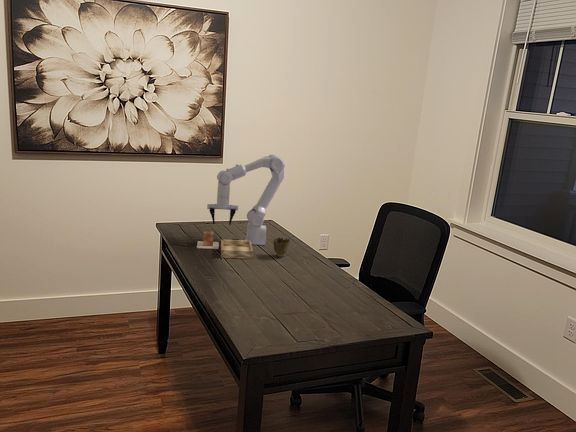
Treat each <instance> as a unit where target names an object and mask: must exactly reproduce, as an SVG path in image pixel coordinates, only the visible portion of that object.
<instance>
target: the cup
mask: <svg viewBox="0 0 576 432" xmlns="http://www.w3.org/2000/svg"><path fill="white" fill-rule="evenodd" d="M289 246H290V238H289V239H288V238H287V237H286V238H285V239H284V238H283V237H275V238H273V250H274V252H275V253H276V256H277V257H278V258H284V257H285V254H286V253H287V252H288V250H289Z"/></svg>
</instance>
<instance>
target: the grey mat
mask: <svg viewBox="0 0 576 432" xmlns="http://www.w3.org/2000/svg"><path fill="white" fill-rule="evenodd" d="M219 244H220V242H219V241H213V246H203V240H202V241H201V240H200V241H199V240H197V244H196V248H197V249H203V250H204V249H207V250H208V249H210V250H220V249H219V248H220V247H219V246H220V245H219Z"/></svg>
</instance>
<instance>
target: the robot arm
mask: <svg viewBox="0 0 576 432" xmlns="http://www.w3.org/2000/svg"><path fill="white" fill-rule="evenodd" d="M285 167H286V166H285V163H284V161H283V159H282V158H281V157H278V156H277V155H275V154H269V155H268V156H267V155H266V156H265V155H264V156H262V157H261V158H258V159H256V160H254V161H251V162H250V163H247V164H245V165H242V164H239V163H237V164H235V166H232V167H230V168H226V169H225V170H220V171H219V172H218V173H217V175H216V179H217V192H216V193H217V195H216V196H217V197H216V203H212V204H211V203H207V205H206V207H207V210H209V213H210V215H211V220H212V225H215V215H216V214H215V211H216V210H227V211H229V223H228V225H229V226H231V225H232V220H233V219H234V216H235V215H236V212H237V211H239V205H233V204H230V194H231V193H230V192H231V191H230V190H231V187H230V186H231V185H230V184H231V183H232V182H233V181H236V180H237V179H240V178H243V177H245V176H246V175H247V173H249V172H251V171H254V170H255V171H256V170H257V169H259V168H265V169H269V171H270V174H271V178H270V180H269V181H268V183H267V185H266V187H265V189H264V190H263V192H262V194H261V196H260V198H259V199H258V201H257V203H256V204H254V206H252V208H251V209H250V210H249V211H248V212H247V214H246V219H247V221H248V222H247V224H246V226H247V227H246V238H245V239H244V241H251V243H252V245H254V246H255V245H258V246H259V245H260V246H265V245H266V240H267V226H266V225H263V224H264V221H265V220H264V219H265V216H266V211H267V208H268V207H269V205H270V203H271V201H272V199H273V198H274V196H275V194H276V192H277V191H278V189H279V187H280V186H281V183H282V182H283V180H284V178H285Z"/></svg>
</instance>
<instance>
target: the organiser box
mask: <svg viewBox="0 0 576 432" xmlns="http://www.w3.org/2000/svg"><path fill="white" fill-rule="evenodd" d="M220 241H221V242H220V258H227V259H228V258H229V259H246V260H247V259H250V260H251V259H254V249H253V244H252V243H251V241H245V239H244V240H243V239H240V240H239V239H220Z"/></svg>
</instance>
